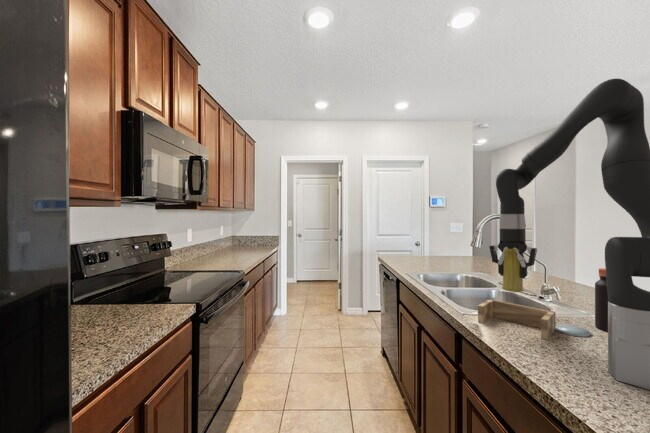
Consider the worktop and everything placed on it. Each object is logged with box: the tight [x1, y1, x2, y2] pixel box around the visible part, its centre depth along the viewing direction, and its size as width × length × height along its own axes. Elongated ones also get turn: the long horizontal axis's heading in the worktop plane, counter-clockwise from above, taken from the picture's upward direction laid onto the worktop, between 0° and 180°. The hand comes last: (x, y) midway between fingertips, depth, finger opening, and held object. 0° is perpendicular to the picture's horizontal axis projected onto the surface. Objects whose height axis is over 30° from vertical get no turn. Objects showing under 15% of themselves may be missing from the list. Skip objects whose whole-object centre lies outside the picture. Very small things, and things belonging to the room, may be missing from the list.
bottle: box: [594, 267, 608, 333], centre depth 97 cm, size 7×7×20 cm
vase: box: [501, 248, 524, 293], centre depth 100 cm, size 6×6×14 cm
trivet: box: [555, 323, 591, 338], centre depth 96 cm, size 9×9×1 cm
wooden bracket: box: [477, 298, 556, 340], centre depth 101 cm, size 12×20×6 cm, turn 42°
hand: (512, 276), depth 100 cm, fingers closed on vase, 5 cm apart
